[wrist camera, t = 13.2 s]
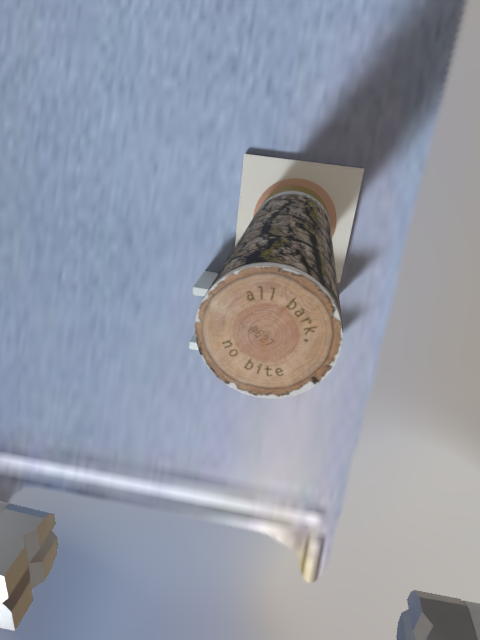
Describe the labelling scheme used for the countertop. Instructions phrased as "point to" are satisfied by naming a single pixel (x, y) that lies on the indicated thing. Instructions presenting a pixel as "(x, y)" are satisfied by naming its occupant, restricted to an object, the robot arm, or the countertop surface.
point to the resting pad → (324, 179)
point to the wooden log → (275, 301)
